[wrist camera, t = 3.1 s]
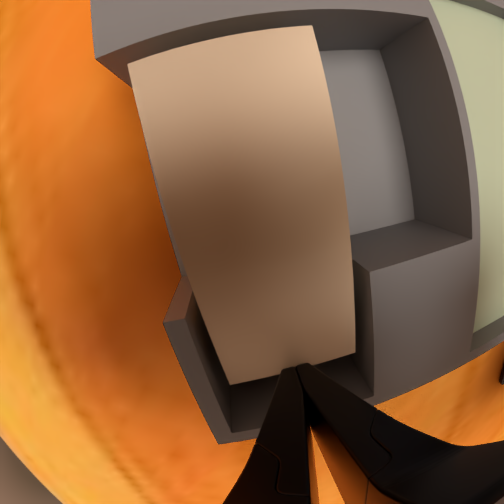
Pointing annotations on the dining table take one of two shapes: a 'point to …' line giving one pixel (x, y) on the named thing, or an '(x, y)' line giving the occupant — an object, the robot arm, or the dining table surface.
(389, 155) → the jig board
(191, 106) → the maple block
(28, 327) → the dining table surface
